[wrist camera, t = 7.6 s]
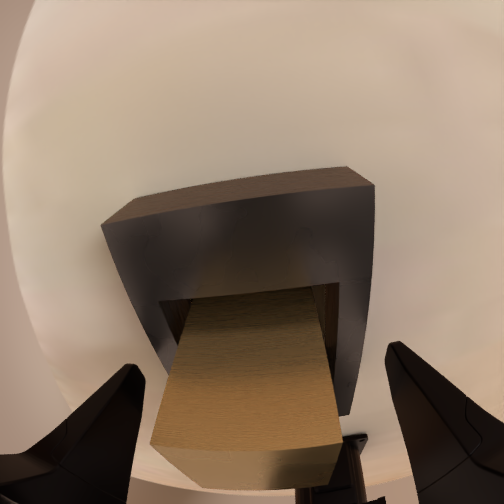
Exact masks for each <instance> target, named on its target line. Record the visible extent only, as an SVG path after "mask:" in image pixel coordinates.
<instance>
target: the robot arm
mask: <svg viewBox="0 0 504 504" xmlns="http://www.w3.org/2000/svg"><path fill="white" fill-rule="evenodd" d="M385 367H386V371H387V376H388V381H389V386H390V391H391V396H392V401H393V404H394V407H395V411H396V414H397V417H398V420H399V424H400V427H401V431H402V434H403V438H404V441H405V445H406V449H407V452H408V456H409V460H410V464H411V468H412V472H413V476H414V481H415V485H416V490H417V493H418V494H417V495H418V500H419V504H504V423H503V422H501V421H500V420H498V419H497V418H495V417H494V416H492V415H491V414H489V413H488V412H487V411H485V410H484V409H482V408H481V407H480V406H479V405H477V404H476V403H475V402H474V401H473V400H471V399H470V398H469V397H466V395H465V394H464V393H463V392H462V391H461V390H459V389H458V388H457V387H456V386H455V385H453V384H452V383H451V382H450V381H449V380H447V379H446V378H445V377H444V376H443V375H441V374H440V373H439V372H438V371H437V370H435V369H434V368H433V367H432V366H431V365H429V364H428V363H427V362H426V361H424V360H423V359H422V358H421V357H420V356H418V355H417V354H416V353H415V352H413V351H412V350H411V349H410V348H408V347H407V346H406V345H405V344H403V343H402V342H401V341H396V342H391V343H389V345H388V348H387V352H386V356H385ZM145 384H146V381H145V377H144V375H143V374H142V372H141V371H140V369H139V368H138V366H137V365H136V364H125V365H124V366H123V367H122V368H121V369H120V370H119V371H117V372H116V373H115V374H114V375H113V376H112V377H111V378H110V379H109V380H108V381H107V382H105V383H104V384H103V385H102V386H101V387H100V388H99V389H98V390H97V391H96V392H95V393H94V394H92V395H91V396H90V397H89V398H88V399H87V400H86V401H85V402H84V403H83V404H82V405H81V406H79V407H78V408H77V409H76V410H75V411H74V412H73V413H72V414H71V415H70V416H69V417H68V418H67V419H65V420H64V421H63V422H62V423H61V424H60V425H59V426H58V427H56V428H55V429H54V430H53V431H52V432H51V433H49V434H48V435H47V436H45V437H44V438H43V439H41V440H40V441H39V442H37V443H36V444H35V445H33V446H32V447H31V448H29V449H28V450H26V451H25V452H22V453H19V454H4V455H0V504H126V501H127V494H128V488H129V482H130V476H131V470H132V464H133V458H134V453H135V448H136V442H137V437H138V432H139V428H140V423H141V418H142V411H143V401H144V392H145ZM342 440H343V444H342V447H341V450H340V453H339V456H338V459H337V462H336V464H335V467H334V470H333V473H332V475H331V478H330V481H329V483H328V485H321V486H314V487H305V488H295V500H296V501H295V502H296V504H386V500H385V496H383V497H380V498H378V499H377V500H373V501H369V502H367V498H366V491H365V484H364V478H363V472H362V466H361V460H360V454H361V452H362V450H363V448H364V446H365V444H366V442H367V440H368V436H367V434H361V435H356V436H351V437H346V438H342Z"/></svg>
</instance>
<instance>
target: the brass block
mask: <svg viewBox="0 0 504 504" xmlns="http://www.w3.org/2000/svg"><path fill="white" fill-rule="evenodd" d="M342 444H343V440H342V434H341V428H340V422H339V416H338V410H337V405H336V400H335V394H334V389H333V384H332V379H331V374H330V369H329V364H328V359H327V355H326V350H325V345H324V341H323V336H322V332H321V327H320V323H319V318H318V314H317V310H316V306H315V301H314V297H313V293H312V289H311V286H305V287H297V288H289V289H280V290H272V291H263V292H254V293H244V294H234V295H224V296H213V297H202V298H193V301H192V304H191V307H190V310H189V313H188V316H187V319H186V322H185V326H184V329H183V332H182V335H181V338H180V341H179V344H178V348H177V351H176V354H175V357H174V361H173V364H172V367H171V370H170V374H169V377H168V380H167V384H166V387H165V391H164V394H163V398H162V401H161V405H160V408H159V412H158V415H157V419H156V422H155V426H154V430H153V434H152V437H151V441H150V445H151V446H152V447H153V448H154V449H155V450H156V451H158V452H159V453H160V454H161V455H162V456H163V457H164V458H165V459H167V460H168V461H169V462H170V463H171V464H173V465H174V466H175V467H176V468H177V469H179V470H180V471H181V472H182V473H184V474H185V475H186V476H187V477H189V478H190V479H191V480H193V481H194V482H195V483H197V484H198V485H199V486H201V487H202V488H209V489H224V490H280V489H295V488H305V487H314V486H321V485H328V483H329V481H330V478H331V475H332V473H333V470H334V467H335V464H336V462H337V459H338V456H339V453H340V450H341V447H342Z"/></svg>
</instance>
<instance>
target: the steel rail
mask: <svg viewBox="0 0 504 504" xmlns="http://www.w3.org/2000/svg"><path fill="white" fill-rule="evenodd" d="M374 222H375V185H374V184H372V183H371V182H370V181H368V180H367V179H365V178H364V177H362V176H361V175H359V174H358V173H356V172H355V171H353V170H352V169H350V168H349V167H347V166H346V167H334V168H322V169H312V170H302V171H293V172H284V173H276V174H269V175H261V176H254V177H247V178H240V179H234V180H227V181H221V182H215V183H209V184H204V185H198V186H193V187H187V188H182V189H177V190H172V191H167V192H162V193H157V194H153V195H148V196H144V197H139V198H135V199H133V200H132V201H130V202H129V203H128V204H127V205H125V206H124V207H123V208H121V209H120V210H119V211H118V212H116V213H115V214H114V215H113V216H111V217H110V218H109V219H108V220H106V221H105V222H104V223H103V224H101V227H102V230H103V233H104V236H105V239H106V242H107V244H108V247H109V250H110V252H111V255H112V258H113V260H114V263H115V265H116V268H117V270H118V273H119V275H120V278H121V280H122V282H123V285H124V287H125V289H126V292H127V294H128V296H129V298H130V301H131V303H132V305H133V307H134V309H135V311H136V314H137V316H138V318H139V320H140V322H141V324H142V326H143V328H144V330H145V332H146V334H147V336H148V338H149V340H150V342H151V344H152V346H153V348H154V350H155V351H156V353H157V355H158V357H159V359H160V361H161V362H162V364H163V366H164V368H165V370H166V371H167V373H168V375H169V374H170V370H171V367H172V364H173V361H174V357H175V354H176V351H177V348H178V344H179V341H180V338H181V335H182V332H183V329H184V326H185V322H186V319H187V316H188V313H189V310H190V307H191V301H190V299H191V298H202V297H213V296H224V295H234V294H244V293H254V292H263V291H272V290H280V289H289V288H297V287H305V286H313V285H320V284H325V350H326V355H327V359H328V364H329V369H330V374H331V379H332V384H333V389H334V394H335V400H336V405H337V410H338V416H339V417H340V416H345V415H349V413H350V409H351V405H352V401H353V397H354V392H355V387H356V383H357V378H358V373H359V368H360V362H361V357H362V351H363V345H364V338H365V331H366V324H367V317H368V309H369V300H370V290H371V279H372V266H373V249H374Z"/></svg>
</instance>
